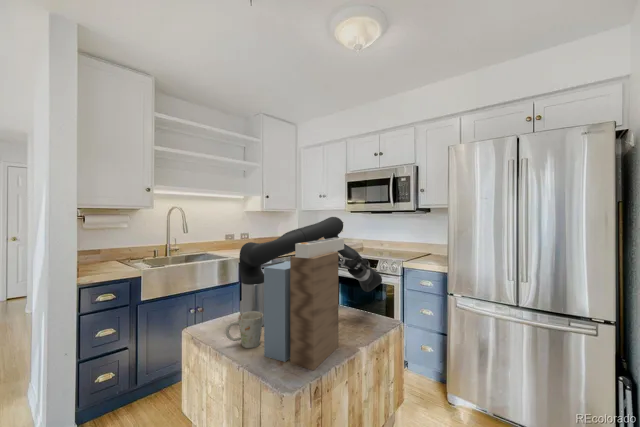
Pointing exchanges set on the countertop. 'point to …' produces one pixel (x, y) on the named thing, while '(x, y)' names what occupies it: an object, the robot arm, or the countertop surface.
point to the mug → (248, 329)
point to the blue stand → (277, 311)
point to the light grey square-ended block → (318, 247)
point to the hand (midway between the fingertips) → (345, 256)
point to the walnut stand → (313, 309)
